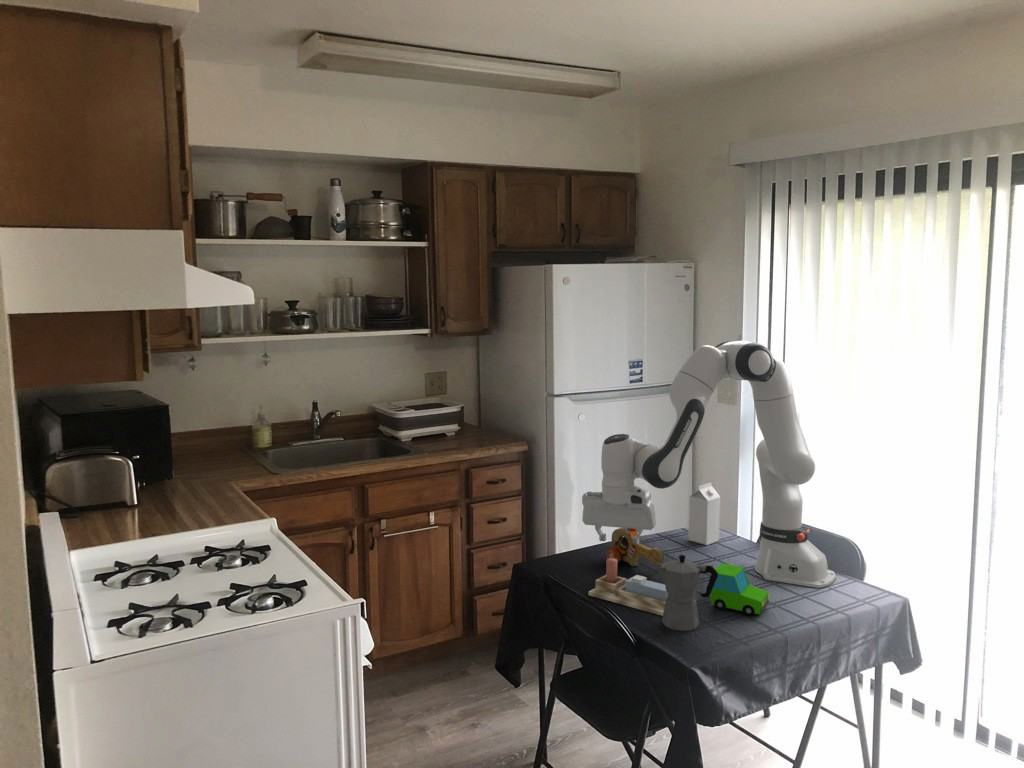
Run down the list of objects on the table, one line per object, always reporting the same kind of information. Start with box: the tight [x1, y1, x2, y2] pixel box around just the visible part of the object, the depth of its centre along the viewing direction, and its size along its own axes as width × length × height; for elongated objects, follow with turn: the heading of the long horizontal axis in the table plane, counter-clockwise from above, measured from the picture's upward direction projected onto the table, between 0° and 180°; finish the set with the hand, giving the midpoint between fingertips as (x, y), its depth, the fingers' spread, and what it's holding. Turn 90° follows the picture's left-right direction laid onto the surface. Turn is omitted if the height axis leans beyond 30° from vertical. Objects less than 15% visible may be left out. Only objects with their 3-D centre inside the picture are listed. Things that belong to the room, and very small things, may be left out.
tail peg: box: [605, 558, 618, 584], centre depth 233 cm, size 3×3×8 cm
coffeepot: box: [654, 554, 718, 632], centre depth 211 cm, size 15×9×18 cm, turn 80°
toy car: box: [710, 562, 770, 617], centre depth 222 cm, size 10×13×10 cm
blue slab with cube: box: [625, 574, 668, 602], centre depth 226 cm, size 12×4×5 cm, turn 52°
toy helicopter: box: [606, 527, 665, 567], centre depth 252 cm, size 8×21×14 cm, turn 36°
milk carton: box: [687, 482, 721, 546], centre depth 275 cm, size 7×7×19 cm
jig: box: [588, 574, 666, 617], centre depth 229 cm, size 23×12×4 cm, turn 52°
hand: (619, 542), depth 234 cm, fingers open, 8 cm apart
